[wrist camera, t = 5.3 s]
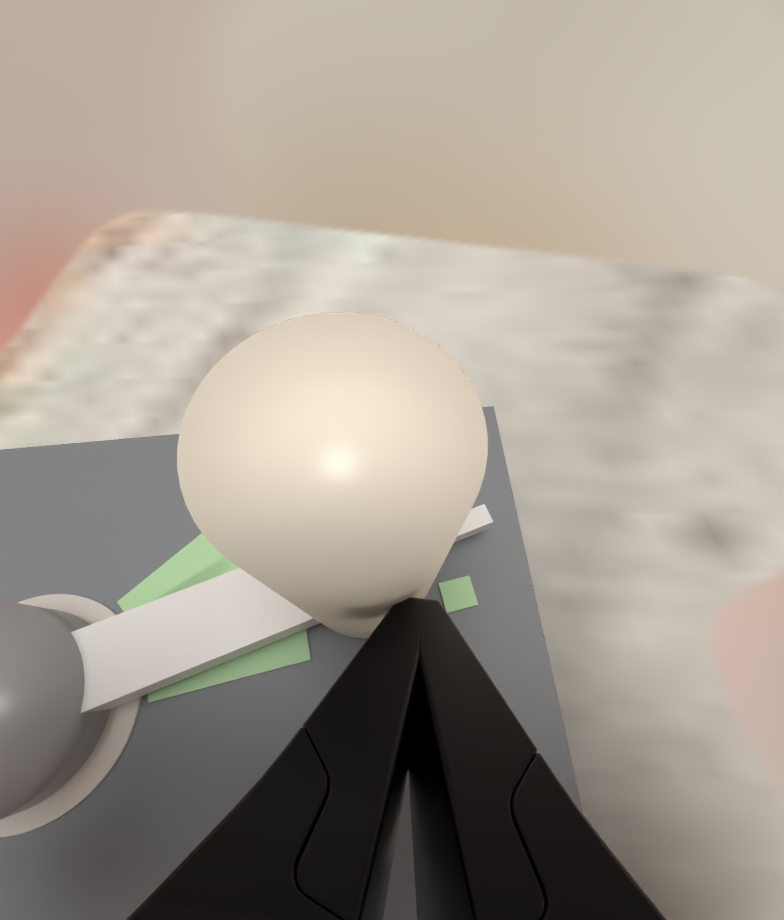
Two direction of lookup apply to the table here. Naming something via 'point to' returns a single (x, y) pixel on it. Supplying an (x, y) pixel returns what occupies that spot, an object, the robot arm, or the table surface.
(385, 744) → the robot arm
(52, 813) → the board
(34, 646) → the needle lever
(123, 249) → the table surface
